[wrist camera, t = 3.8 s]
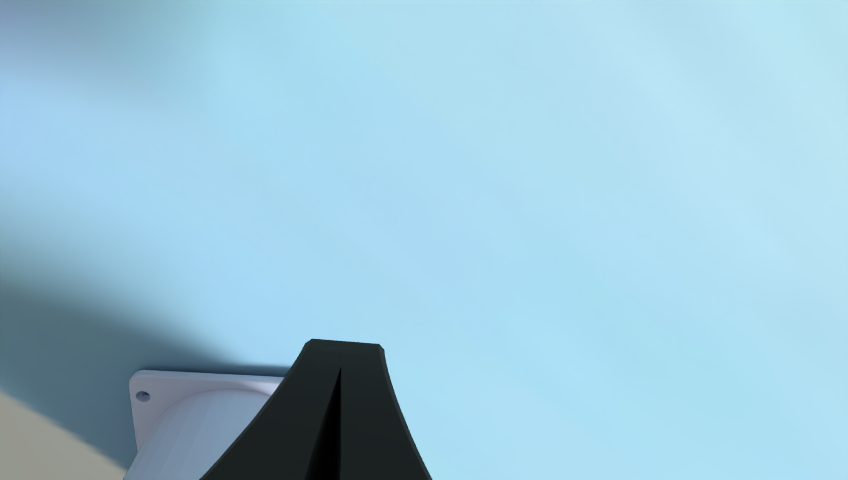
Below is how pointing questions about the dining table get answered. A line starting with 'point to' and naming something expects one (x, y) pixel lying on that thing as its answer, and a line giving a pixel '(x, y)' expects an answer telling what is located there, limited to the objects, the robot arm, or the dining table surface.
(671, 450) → the dining table surface
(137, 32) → the dining table surface
